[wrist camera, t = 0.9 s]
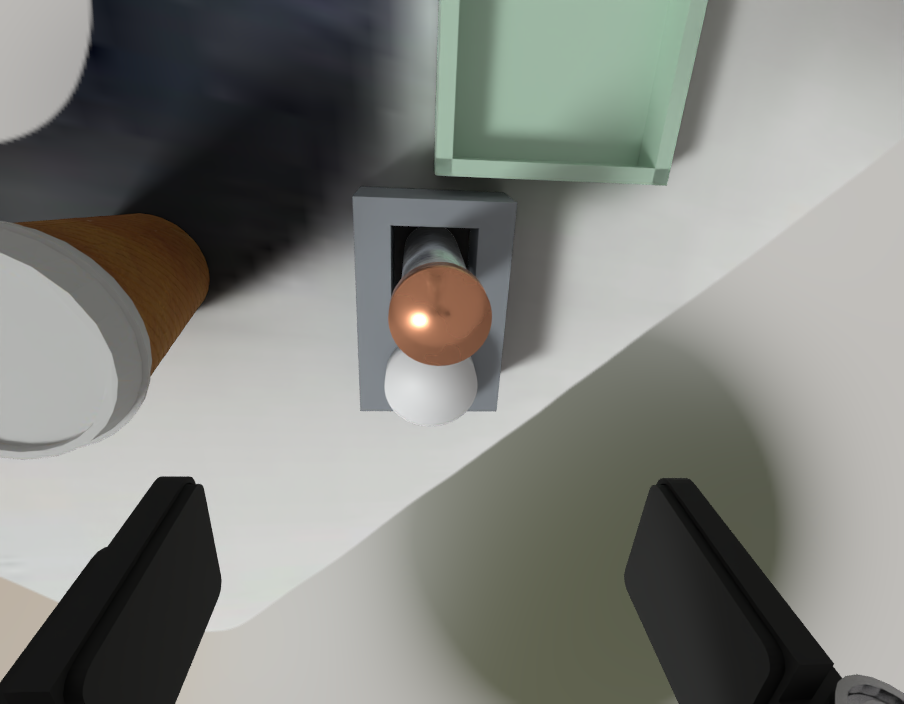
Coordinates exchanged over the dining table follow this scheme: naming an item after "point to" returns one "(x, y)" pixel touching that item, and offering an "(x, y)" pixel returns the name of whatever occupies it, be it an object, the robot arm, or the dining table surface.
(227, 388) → the dining table surface
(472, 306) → the pin
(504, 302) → the block
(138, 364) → the disposable coffee cup
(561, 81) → the tray
